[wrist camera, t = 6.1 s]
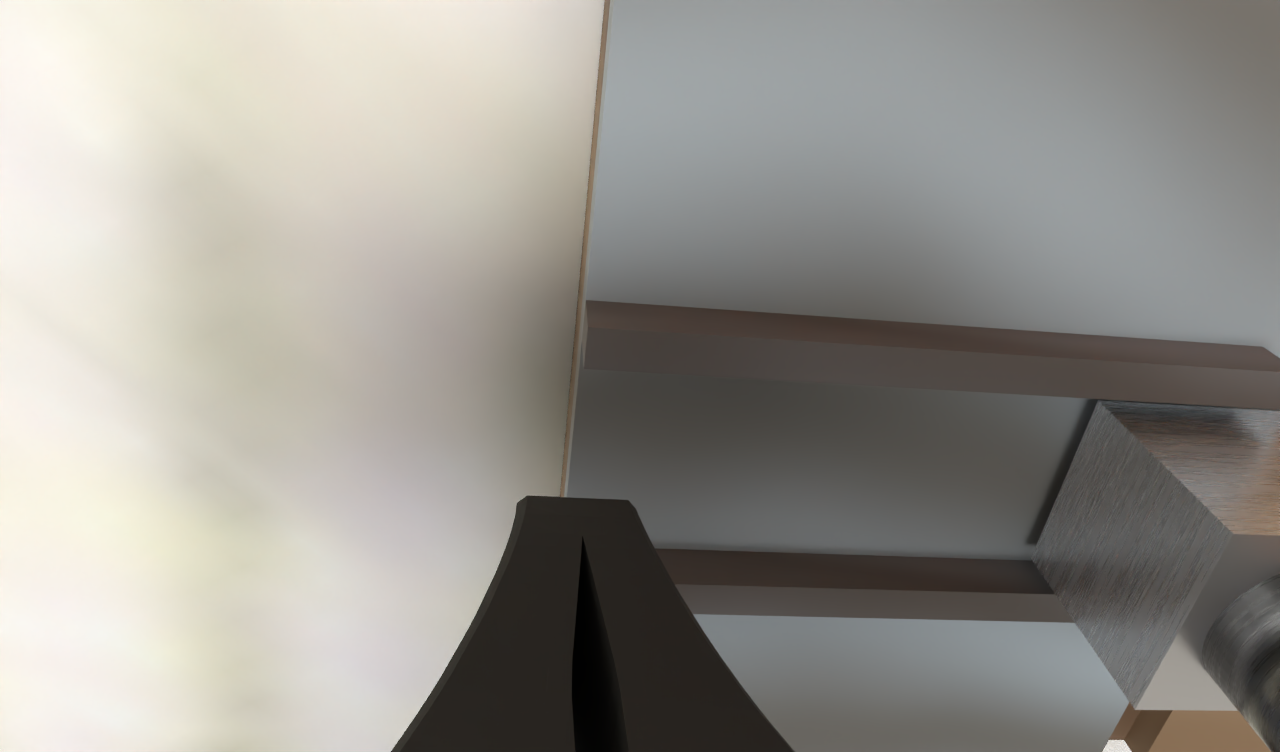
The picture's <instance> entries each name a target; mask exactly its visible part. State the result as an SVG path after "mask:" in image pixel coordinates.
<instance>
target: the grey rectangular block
mask: <svg viewBox="0 0 1280 752" xmlns="http://www.w3.org/2000/svg"><path fill="white" fill-rule="evenodd" d="M1031 559H1032V561H1033V562H1034V564H1035V565H1036V567H1037V568H1038V570H1039V571H1040V572H1041V574H1042V575H1043V577H1044V578H1045V580H1046V581H1047V583H1048V584H1049V586H1050V587H1051V588H1052V590H1053V591H1054V593H1055V594H1056V596H1057V597H1058V599H1059V600H1060V602H1061V603H1062V604H1063V606H1064V607H1065V609H1066V610H1067V612H1068V613H1069V615H1070V616H1071V618H1072V619H1073V620H1074V622H1075V623H1076V625H1077V626H1078V628H1079V629H1080V631H1081V632H1082V634H1083V635H1084V636H1085V638H1086V639H1087V641H1088V642H1089V644H1090V645H1091V647H1092V648H1093V650H1094V651H1095V652H1096V654H1097V655H1098V657H1099V658H1100V660H1101V661H1102V663H1103V664H1104V666H1105V667H1106V668H1107V670H1108V671H1109V673H1110V674H1111V676H1112V677H1113V679H1114V680H1115V682H1116V683H1117V684H1118V686H1119V687H1120V689H1121V690H1122V692H1123V693H1124V695H1125V696H1126V698H1127V699H1128V700H1129V702H1130V703H1131V705H1132V706H1133V708H1134V709H1135V710H1206V711H1239V713H1240V714H1241V715H1242V716H1243V717H1244V719H1245V720H1246V721H1247V722H1248V724H1249V725H1250V726H1251V727H1252V729H1253V730H1254V731H1255V732H1256V734H1257V735H1258V736H1259V737H1260V739H1261V740H1262V741H1263V742H1264V743H1265V745H1266V746H1267V747H1268V748H1269V750H1270V751H1271V752H1280V411H1271V410H1254V409H1237V408H1220V407H1203V406H1185V405H1168V404H1151V403H1134V402H1117V401H1100V400H1098V402H1097V404H1096V407H1095V409H1094V411H1093V414H1092V416H1091V418H1090V421H1089V423H1088V425H1087V428H1086V430H1085V432H1084V435H1083V437H1082V440H1081V442H1080V444H1079V447H1078V449H1077V451H1076V454H1075V456H1074V458H1073V461H1072V463H1071V465H1070V468H1069V470H1068V472H1067V475H1066V477H1065V479H1064V482H1063V484H1062V486H1061V489H1060V491H1059V493H1058V496H1057V498H1056V500H1055V503H1054V505H1053V508H1052V510H1051V512H1050V515H1049V517H1048V519H1047V522H1046V524H1045V526H1044V529H1043V531H1042V533H1041V536H1040V538H1039V540H1038V543H1037V545H1036V547H1035V550H1034V552H1033V554H1032V557H1031Z"/></svg>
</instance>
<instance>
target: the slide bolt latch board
mask: <svg viewBox="0 0 1280 752" xmlns="http://www.w3.org/2000/svg"><path fill="white" fill-rule="evenodd" d="M1098 400H1100V401H1117V402H1134V403H1151V404H1168V405H1185V406H1203V407H1220V408H1237V409H1254V410H1271V411H1280V0H605V4H604V15H603V26H602V37H601V48H600V59H599V70H598V81H597V92H596V103H595V114H594V125H593V136H592V148H591V159H590V170H589V181H588V192H587V203H586V214H585V225H584V236H583V247H582V258H581V269H580V280H579V291H578V303H577V314H576V325H575V336H574V347H573V358H572V369H571V380H570V391H569V402H568V413H567V424H566V435H565V446H564V458H563V469H562V480H561V491H560V497H571V498H595V499H619V500H629V501H630V503H631V504H632V505H633V506H634V507H635V508H636V510H637V512H638V515H639V517H640V519H641V522H642V524H643V526H644V528H645V530H646V532H647V534H648V536H649V538H650V540H651V542H652V544H653V546H654V548H655V550H656V552H657V554H658V556H659V557H660V559H661V561H662V563H663V565H664V567H665V568H666V570H667V572H668V574H669V576H670V577H671V579H672V581H673V583H674V584H675V586H676V588H677V589H678V591H679V593H680V594H681V596H682V598H683V599H684V601H685V602H686V604H687V606H688V607H689V609H690V610H691V612H692V614H693V615H694V617H695V618H696V620H697V622H698V623H699V625H700V626H701V628H702V630H703V631H704V633H705V634H706V636H707V637H708V639H709V640H710V642H711V643H712V645H713V646H714V648H715V649H716V650H717V652H718V653H719V655H720V656H721V658H722V659H723V661H724V662H725V663H726V665H727V666H728V667H729V669H730V670H731V672H732V673H733V674H734V676H735V677H736V679H737V680H738V681H739V683H740V684H741V685H742V687H743V688H744V690H745V691H746V692H747V693H748V695H749V696H750V697H751V699H752V700H753V701H754V703H755V704H756V705H757V706H758V708H759V709H760V710H761V712H762V713H763V714H764V715H765V717H766V718H767V719H768V720H769V722H770V723H771V724H772V725H773V726H774V728H775V729H776V730H777V731H778V732H779V733H780V735H781V736H782V737H783V738H784V739H785V741H786V742H787V743H788V744H789V745H790V746H791V748H792V749H793V750H794V751H795V752H1102V751H1103V749H1104V747H1105V745H1106V744H1107V742H1108V740H1125V742H1126V743H1127V745H1128V746H1129V748H1130V750H1131V751H1132V752H1271V751H1270V750H1269V748H1268V747H1267V746H1266V745H1265V743H1264V742H1263V741H1262V740H1261V739H1260V737H1259V736H1258V735H1257V734H1256V732H1255V731H1254V730H1253V729H1252V727H1251V726H1250V725H1249V724H1248V722H1247V721H1246V720H1245V719H1244V717H1243V716H1242V715H1241V714H1240V713H1239V711H1206V710H1135V709H1134V708H1133V706H1132V705H1131V703H1130V702H1129V700H1128V699H1127V698H1126V696H1125V695H1124V693H1123V692H1122V690H1121V689H1120V687H1119V686H1118V684H1117V683H1116V682H1115V680H1114V679H1113V677H1112V676H1111V674H1110V673H1109V671H1108V670H1107V668H1106V667H1105V666H1104V664H1103V663H1102V661H1101V660H1100V658H1099V657H1098V655H1097V654H1096V652H1095V651H1094V650H1093V648H1092V647H1091V645H1090V644H1089V642H1088V641H1087V639H1086V638H1085V636H1084V635H1083V634H1082V632H1081V631H1080V629H1079V628H1078V626H1077V625H1076V623H1075V622H1074V620H1073V619H1072V618H1071V616H1070V615H1069V613H1068V612H1067V610H1066V609H1065V607H1064V606H1063V604H1062V603H1061V602H1060V600H1059V599H1058V597H1057V596H1056V594H1055V593H1054V591H1053V590H1052V588H1051V587H1050V586H1049V584H1048V583H1047V581H1046V580H1045V578H1044V577H1043V575H1042V574H1041V572H1040V571H1039V570H1038V568H1037V567H1036V565H1035V564H1034V562H1033V561H1032V559H1031V557H1032V554H1033V552H1034V550H1035V547H1036V545H1037V543H1038V540H1039V538H1040V536H1041V533H1042V531H1043V529H1044V526H1045V524H1046V522H1047V519H1048V517H1049V515H1050V512H1051V510H1052V508H1053V505H1054V503H1055V500H1056V498H1057V496H1058V493H1059V491H1060V489H1061V486H1062V484H1063V482H1064V479H1065V477H1066V475H1067V472H1068V470H1069V468H1070V465H1071V463H1072V461H1073V458H1074V456H1075V454H1076V451H1077V449H1078V447H1079V444H1080V442H1081V440H1082V437H1083V435H1084V432H1085V430H1086V428H1087V425H1088V423H1089V421H1090V418H1091V416H1092V414H1093V411H1094V409H1095V407H1096V404H1097V402H1098Z"/></svg>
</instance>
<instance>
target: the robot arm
mask: <svg viewBox="0 0 1280 752" xmlns="http://www.w3.org/2000/svg"><path fill="white" fill-rule="evenodd" d="M391 752H795V751H794V750H793V749H792V748H791V746H790V745H789V744H788V743H787V742H786V741H785V739H784V738H783V737H782V736H781V735H780V733H779V732H778V731H777V730H776V729H775V728H774V726H773V725H772V724H771V723H770V722H769V720H768V719H767V718H766V717H765V715H764V714H763V713H762V712H761V710H760V709H759V708H758V706H757V705H756V704H755V703H754V701H753V700H752V699H751V697H750V696H749V695H748V693H747V692H746V691H745V690H744V688H743V687H742V685H741V684H740V683H739V681H738V680H737V679H736V677H735V676H734V674H733V673H732V672H731V670H730V669H729V667H728V666H727V665H726V663H725V662H724V661H723V659H722V658H721V656H720V655H719V653H718V652H717V650H716V649H715V648H714V646H713V645H712V643H711V642H710V640H709V639H708V637H707V636H706V634H705V633H704V631H703V630H702V628H701V626H700V625H699V623H698V622H697V620H696V618H695V617H694V615H693V614H692V612H691V610H690V609H689V607H688V606H687V604H686V602H685V601H684V599H683V598H682V596H681V594H680V593H679V591H678V589H677V588H676V586H675V584H674V583H673V581H672V579H671V577H670V576H669V574H668V572H667V570H666V568H665V567H664V565H663V563H662V561H661V559H660V557H659V556H658V554H657V552H656V550H655V548H654V546H653V544H652V542H651V540H650V538H649V536H648V534H647V532H646V530H645V528H644V526H643V524H642V522H641V519H640V517H639V515H638V512H637V510H636V508H635V507H634V506H633V505H632V504H631V503H630V501H629V500H619V499H595V498H571V497H547V496H526V497H525V498H523V499H522V500H521V501H519V502H518V503H517V507H516V515H515V519H514V523H513V527H512V531H511V534H510V537H509V540H508V543H507V546H506V549H505V551H504V554H503V556H502V559H501V561H500V564H499V566H498V569H497V571H496V573H495V576H494V578H493V580H492V582H491V584H490V586H489V588H488V590H487V592H486V595H485V597H484V599H483V601H482V603H481V605H480V607H479V609H478V611H477V614H476V616H475V617H474V619H473V621H472V623H471V625H470V627H469V629H468V631H467V632H466V634H465V636H464V638H463V639H462V641H461V643H460V645H459V646H458V648H457V650H456V652H455V653H454V655H453V657H452V659H451V660H450V662H449V664H448V666H447V667H446V669H445V671H444V673H443V674H442V676H441V678H440V679H439V681H438V683H437V684H436V686H435V687H434V689H433V690H432V692H431V694H430V695H429V697H428V698H427V700H426V701H425V703H424V704H423V706H422V708H421V709H420V711H419V712H418V714H417V715H416V717H415V718H414V719H413V721H412V722H411V724H410V725H409V727H408V728H407V730H406V731H405V732H404V734H403V735H402V737H401V738H400V740H399V741H398V743H397V744H396V745H395V747H394V748H393V750H392V751H391Z"/></svg>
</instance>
